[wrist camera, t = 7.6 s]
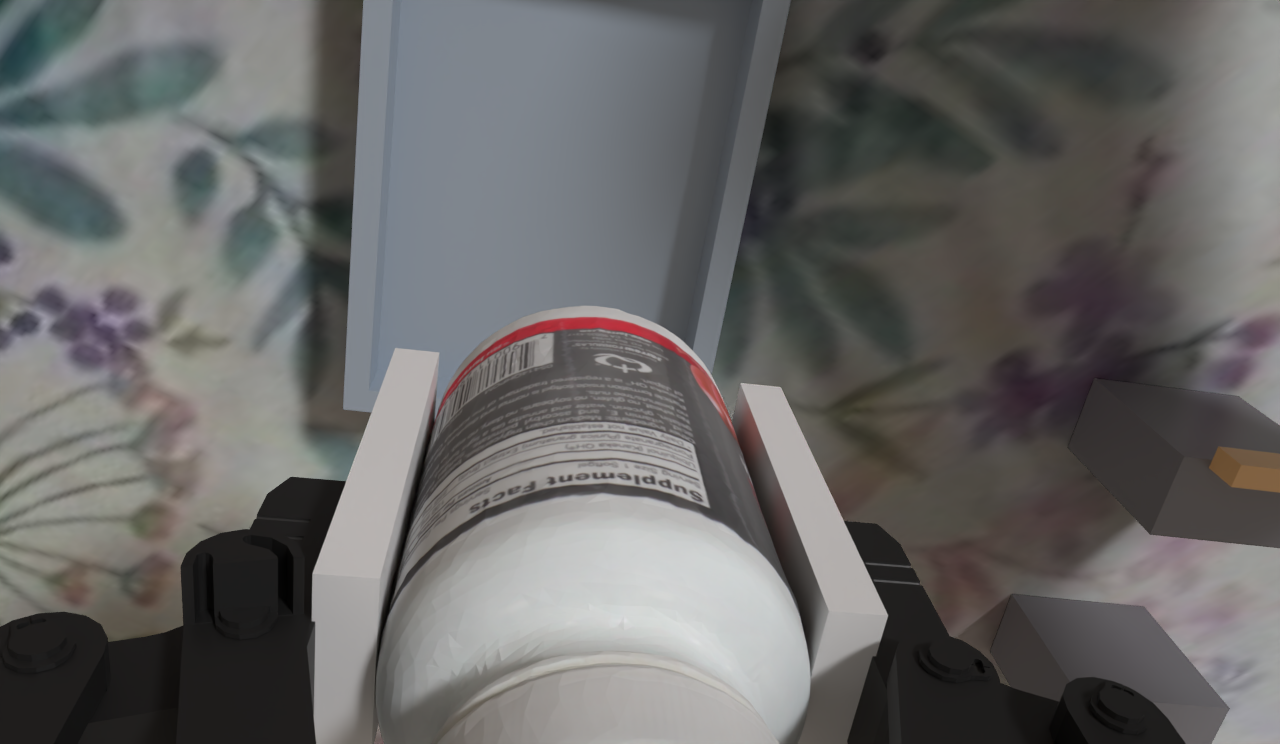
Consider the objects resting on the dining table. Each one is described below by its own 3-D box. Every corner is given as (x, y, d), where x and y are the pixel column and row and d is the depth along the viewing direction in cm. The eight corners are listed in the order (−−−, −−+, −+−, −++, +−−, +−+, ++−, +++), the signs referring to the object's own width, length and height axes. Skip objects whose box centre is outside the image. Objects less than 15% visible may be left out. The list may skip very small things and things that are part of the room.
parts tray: (384, -118, 29) (369, -120, 27) (782, -47, 31) (800, -43, 29) (356, 377, 36) (342, 409, 33) (687, 415, 37) (696, 448, 35)
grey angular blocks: (1098, 366, 38) (1211, 461, 31) (1243, 384, 38) (1383, 481, 32) (986, 660, 43) (1062, 793, 37) (1115, 671, 44) (1211, 803, 38)
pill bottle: (730, 542, 20) (869, 1051, 11) (456, 567, 20) (374, 1108, 11) (724, 284, 18) (895, 664, 9) (414, 308, 17) (265, 724, 8)
